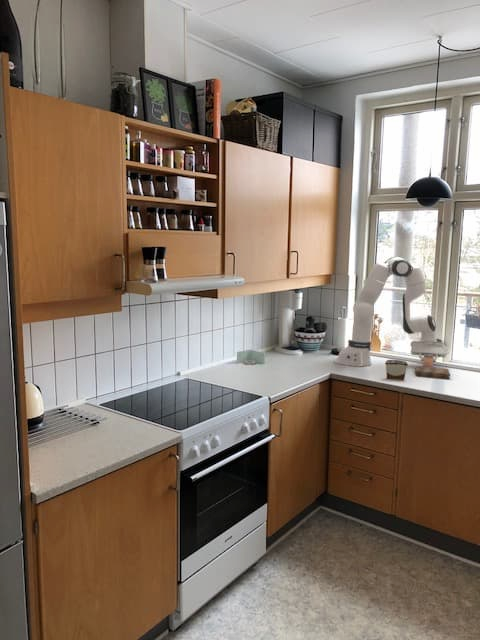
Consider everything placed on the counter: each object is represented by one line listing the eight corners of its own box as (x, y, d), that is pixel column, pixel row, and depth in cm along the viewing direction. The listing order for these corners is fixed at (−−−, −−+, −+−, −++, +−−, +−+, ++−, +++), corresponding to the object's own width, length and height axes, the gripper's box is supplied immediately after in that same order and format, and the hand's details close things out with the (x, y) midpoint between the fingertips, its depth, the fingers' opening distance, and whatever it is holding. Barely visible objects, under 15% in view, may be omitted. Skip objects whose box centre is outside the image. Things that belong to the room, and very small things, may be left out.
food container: (404, 377, 285) (405, 360, 284) (406, 380, 279) (408, 362, 278) (381, 376, 286) (383, 358, 285) (383, 379, 280) (385, 361, 279)
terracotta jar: (422, 369, 304) (424, 355, 303) (422, 367, 310) (423, 353, 309) (433, 370, 303) (434, 356, 302) (432, 368, 308) (433, 354, 307)
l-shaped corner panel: (236, 364, 306) (237, 351, 305) (249, 361, 315) (250, 349, 314) (251, 367, 298) (252, 355, 297) (264, 364, 307) (265, 352, 306)
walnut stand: (415, 376, 289) (416, 371, 289) (414, 370, 302) (414, 366, 301) (449, 379, 285) (450, 374, 284) (447, 373, 297) (447, 368, 297)
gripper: (411, 337, 314) (410, 356, 306) (446, 340, 309) (447, 359, 301) (410, 343, 319) (409, 362, 311) (444, 346, 314) (445, 365, 306)
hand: (428, 361), depth 306 cm, fingers closed on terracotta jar, 6 cm apart
